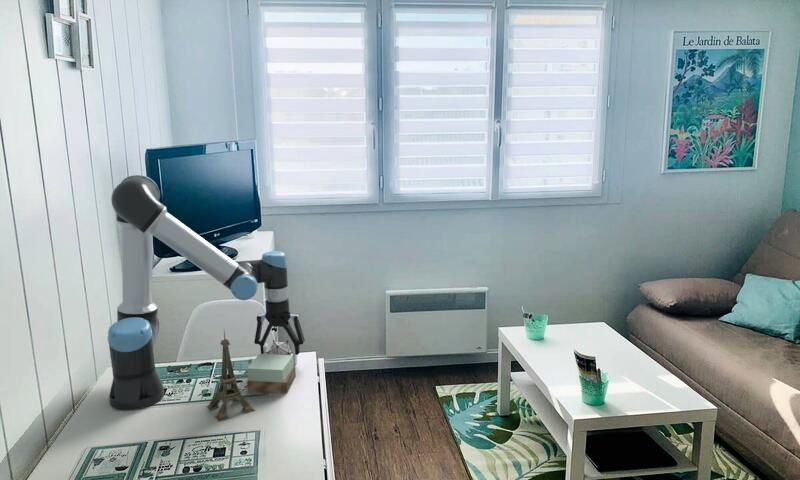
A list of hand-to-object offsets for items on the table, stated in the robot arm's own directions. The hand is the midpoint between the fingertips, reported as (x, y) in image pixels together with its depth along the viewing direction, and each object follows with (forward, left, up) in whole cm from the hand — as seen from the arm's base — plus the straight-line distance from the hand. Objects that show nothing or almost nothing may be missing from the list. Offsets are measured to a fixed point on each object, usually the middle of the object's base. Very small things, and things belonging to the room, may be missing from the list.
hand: (280, 363), depth 217 cm
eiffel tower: (-7, -31, -1) cm, 32 cm away
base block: (+1, -15, -1) cm, 15 cm away
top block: (+1, -15, +3) cm, 16 cm away
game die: (0, 0, 0) cm, 0 cm away
